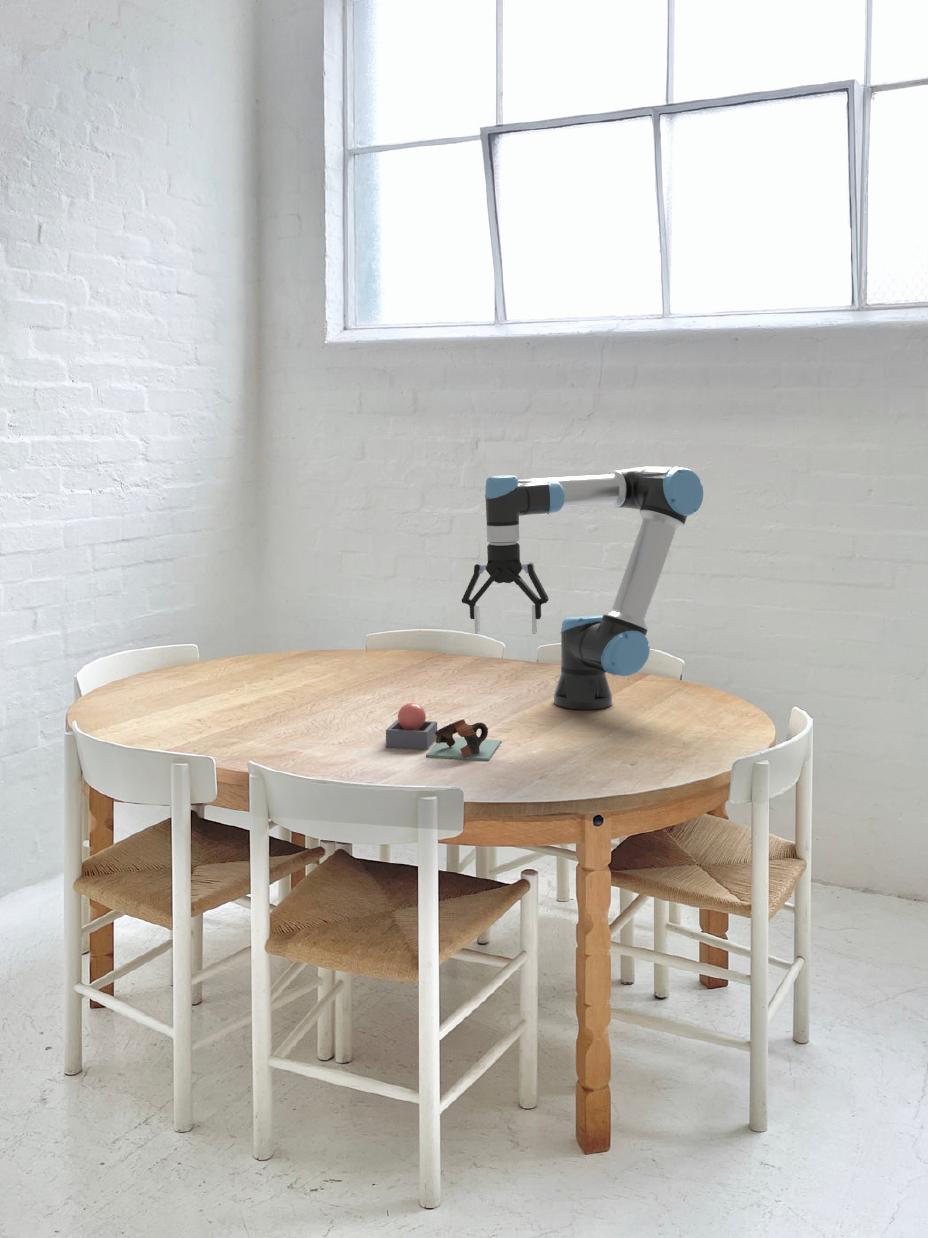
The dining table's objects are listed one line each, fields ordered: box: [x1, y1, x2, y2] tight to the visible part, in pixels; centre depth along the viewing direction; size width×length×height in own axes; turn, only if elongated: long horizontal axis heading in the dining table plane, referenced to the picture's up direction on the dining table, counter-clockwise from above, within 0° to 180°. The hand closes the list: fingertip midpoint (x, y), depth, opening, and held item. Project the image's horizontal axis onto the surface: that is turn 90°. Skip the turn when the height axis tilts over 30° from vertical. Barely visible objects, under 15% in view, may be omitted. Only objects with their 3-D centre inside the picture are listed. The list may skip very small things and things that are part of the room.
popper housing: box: [385, 718, 438, 750], centre depth 263 cm, size 10×10×4 cm
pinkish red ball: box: [397, 702, 427, 730], centre depth 263 cm, size 6×6×6 cm
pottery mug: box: [435, 719, 489, 758], centre depth 255 cm, size 12×10×8 cm
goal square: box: [425, 737, 502, 761], centre depth 258 cm, size 14×15×1 cm
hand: (505, 632), depth 270 cm, fingers open, 13 cm apart
